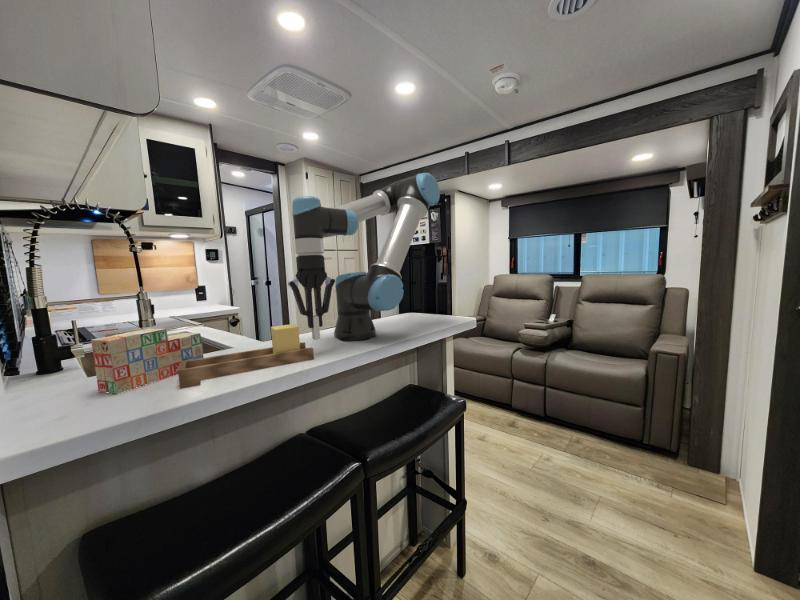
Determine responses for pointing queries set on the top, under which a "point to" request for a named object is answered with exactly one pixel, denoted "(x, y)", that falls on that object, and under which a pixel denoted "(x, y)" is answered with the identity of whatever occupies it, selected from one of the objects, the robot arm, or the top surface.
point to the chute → (238, 364)
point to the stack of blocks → (141, 357)
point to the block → (285, 338)
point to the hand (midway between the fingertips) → (316, 338)
